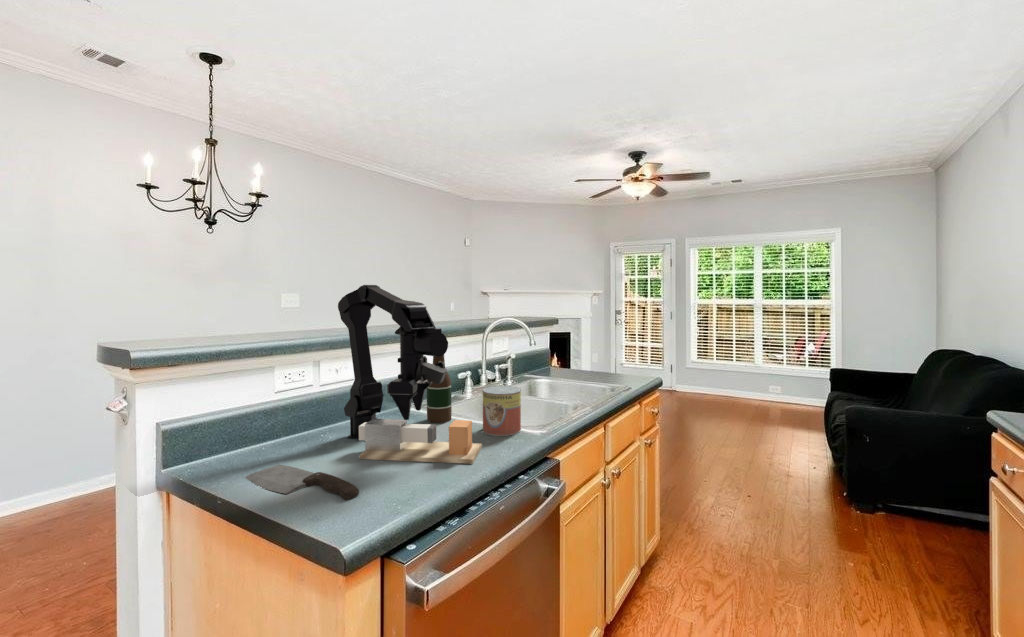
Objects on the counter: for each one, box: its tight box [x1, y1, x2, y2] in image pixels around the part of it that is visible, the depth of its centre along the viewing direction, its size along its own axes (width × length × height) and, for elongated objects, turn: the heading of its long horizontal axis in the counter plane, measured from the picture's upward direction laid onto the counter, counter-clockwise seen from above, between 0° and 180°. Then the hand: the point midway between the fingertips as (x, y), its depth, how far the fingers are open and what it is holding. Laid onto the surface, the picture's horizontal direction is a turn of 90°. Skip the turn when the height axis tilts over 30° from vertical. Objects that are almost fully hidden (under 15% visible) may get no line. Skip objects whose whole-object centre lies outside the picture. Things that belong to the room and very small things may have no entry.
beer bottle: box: [426, 354, 453, 424], centre depth 151 cm, size 8×8×24 cm
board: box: [359, 441, 483, 465], centre depth 121 cm, size 28×12×1 cm, turn 83°
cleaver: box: [244, 464, 360, 501], centre depth 101 cm, size 29×10×2 cm, turn 61°
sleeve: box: [364, 418, 408, 452], centre depth 122 cm, size 9×5×7 cm, turn 83°
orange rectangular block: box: [448, 419, 473, 455], centre depth 120 cm, size 4×6×7 cm
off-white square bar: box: [358, 422, 437, 443], centre depth 121 cm, size 19×4×4 cm, turn 83°
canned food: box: [482, 385, 522, 437], centre depth 140 cm, size 11×11×12 cm
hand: (412, 414), depth 121 cm, fingers open, 9 cm apart
